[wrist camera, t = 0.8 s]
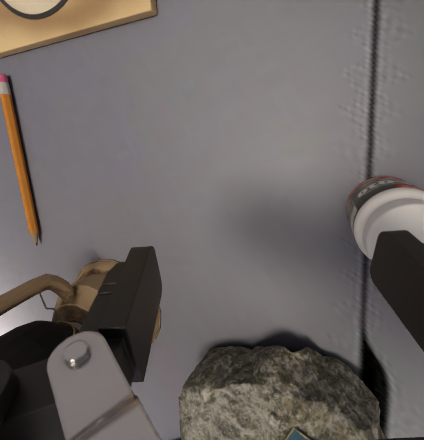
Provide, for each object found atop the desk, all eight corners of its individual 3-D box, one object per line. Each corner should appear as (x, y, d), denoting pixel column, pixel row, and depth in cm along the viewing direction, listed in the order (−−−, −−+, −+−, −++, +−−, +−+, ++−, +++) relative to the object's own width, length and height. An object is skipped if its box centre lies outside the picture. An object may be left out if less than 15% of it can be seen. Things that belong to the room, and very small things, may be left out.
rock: (204, 445, 32) (161, 531, 23) (203, 318, 33) (161, 350, 24) (381, 486, 27) (423, 623, 17) (374, 332, 28) (409, 381, 18)
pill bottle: (416, 171, 20) (475, 188, 13) (418, 234, 21) (474, 286, 13) (342, 180, 22) (355, 201, 14) (347, 238, 23) (362, 287, 15)
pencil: (-1, 75, 30) (34, 244, 35) (-7, 73, 29) (31, 247, 34) (8, 75, 30) (42, 243, 35) (3, 73, 29) (39, 246, 34)
